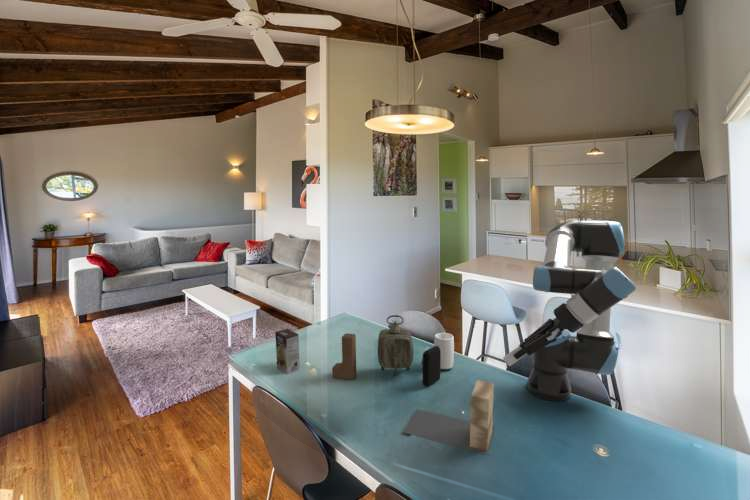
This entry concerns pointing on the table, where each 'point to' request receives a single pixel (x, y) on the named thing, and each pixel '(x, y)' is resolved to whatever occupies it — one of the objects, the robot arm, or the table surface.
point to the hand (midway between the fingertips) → (506, 361)
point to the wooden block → (346, 359)
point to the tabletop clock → (395, 347)
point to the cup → (445, 349)
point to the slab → (481, 415)
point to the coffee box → (287, 350)
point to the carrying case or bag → (431, 365)
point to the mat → (442, 429)
